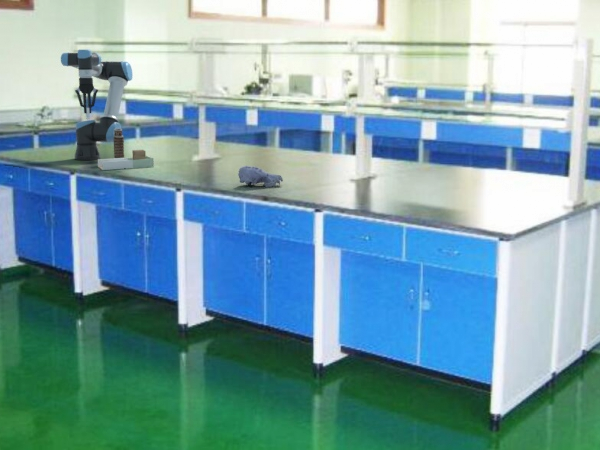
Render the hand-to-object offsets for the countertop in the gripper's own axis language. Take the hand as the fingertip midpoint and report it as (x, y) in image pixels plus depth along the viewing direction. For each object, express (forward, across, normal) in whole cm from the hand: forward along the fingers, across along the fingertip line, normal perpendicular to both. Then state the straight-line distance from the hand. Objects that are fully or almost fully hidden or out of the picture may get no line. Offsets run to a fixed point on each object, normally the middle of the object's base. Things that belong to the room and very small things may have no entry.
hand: (88, 119), depth 482 cm
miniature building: (+27, +17, +2) cm, 32 cm away
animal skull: (+27, +61, -109) cm, 128 cm away
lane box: (+26, +16, -16) cm, 35 cm away
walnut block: (+23, +24, -17) cm, 38 cm away
